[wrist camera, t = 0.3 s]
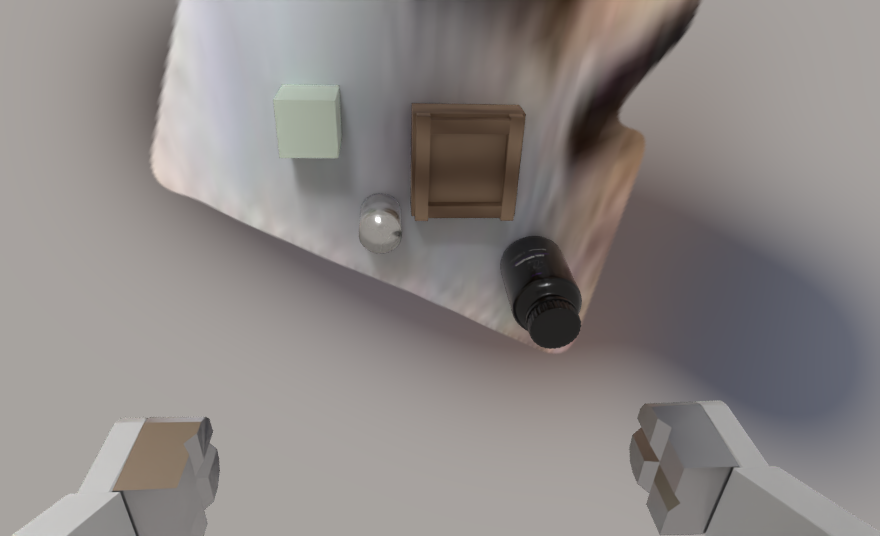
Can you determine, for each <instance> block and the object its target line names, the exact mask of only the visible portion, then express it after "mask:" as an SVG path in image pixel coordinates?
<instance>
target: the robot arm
mask: <svg viewBox="0 0 880 536" xmlns="http://www.w3.org/2000/svg"><path fill="white" fill-rule="evenodd" d="M638 421H639V423H640V425H641V428H640V429H639V430H638V431H636V432H635V433H634V434H633V435H632V439H631V443H630V463H631V467H632V471H633V474H634V476H635V479H636V481H637V484H638V485H640V486H641V487H642V488H643V489H645V490H646V491H647V492H648V493H650V494H649V497H648V500H647V504H646V505H647V507H648V509H649V511H650V514H651V516H652V518H653V520H654V523H655V525H656V527H657V529H658V532H659V534H660V535H693V534H705V536H880V531H878V530H876V529H874V528H873V527H872V526H870V525H869V524H867V523H865V522H864V521H862V520H861V519H859V518H858V517H856V516H854V515H853V514H851V513H849V512H848V511H847V510H845V509H843V508H842V507H840V506H839V505H837V504H836V503H834V502H832V501H831V500H829V499H828V498H826V497H825V496H823V495H821V494H820V493H818V492H817V491H815V490H814V489H812V488H810V487H809V486H807V485H806V484H804V483H802V482H801V481H799V480H798V479H796V478H794V477H793V476H791V475H790V474H788V473H787V472H785V471H784V470H782V469H780V468H779V467H777V466H769V465H768V464H767V462H766V461H765V459H764V458H763V457H762V455H761V454H760V452H759V451H758V450H757V448H756V447H755V445H754V444H753V442H752V441H751V439H750V438H749V436H748V435H747V434H746V432H745V431H744V429H743V428H742V426H741V425H740V424H739V422H738V421H737V419H736V418H735V416H734V415H733V413H732V412H731V410H730V409H729V408H728V406H727V405H726V404H725V403H723V402H722V401H698V402H673V403H648V404H644V405H643V406H642V407H641V408H640V411H639V414H638ZM212 433H213V430H212V426H211V423H210V419H209V418H207V417H150V418H120V419H119V420H118V421H117V422H116V423H115V424H114V425H113V426H112V428H111V430H110V432H109V434H108V436H107V438H106V439H105V441H104V443H103V445H102V447H101V449H100V451H99V453H98V454H97V456H96V458H95V460H94V462H93V464H92V466H91V468H90V470H89V471H88V473H87V475H86V477H85V479H84V481H83V483H82V484H81V486H80V488H79V490H78V492H77V494H67V495H66V496H64V497H63V498H62V499H60V500H59V501H58V502H56V503H55V504H54V505H52V506H51V507H49V508H48V509H47V510H45V511H44V512H43V513H41V514H40V515H39V516H38V517H36V518H35V519H33V520H32V521H31V522H29V523H28V524H27V525H25V526H24V527H22V528H21V529H20V530H18V531H17V532H16V533H14V534H13V535H12V536H204V533H205V530H206V527H207V519H206V515H205V511H204V510H205V509H206V508H207V507H208V506H209V505H210V504H212V503H213V502H214V499H215V495H216V492H217V488H218V481H219V471H220V468H219V456H218V451H217V449H216V448H215V447H214V446H213V445H211V444H210V439H211V436H212Z"/></svg>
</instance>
